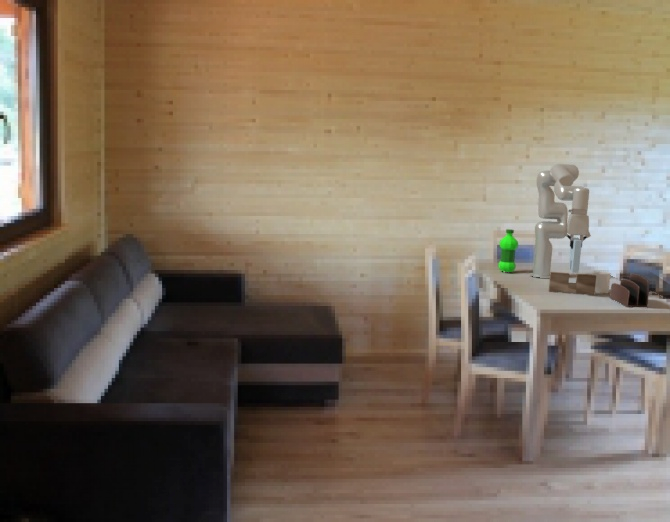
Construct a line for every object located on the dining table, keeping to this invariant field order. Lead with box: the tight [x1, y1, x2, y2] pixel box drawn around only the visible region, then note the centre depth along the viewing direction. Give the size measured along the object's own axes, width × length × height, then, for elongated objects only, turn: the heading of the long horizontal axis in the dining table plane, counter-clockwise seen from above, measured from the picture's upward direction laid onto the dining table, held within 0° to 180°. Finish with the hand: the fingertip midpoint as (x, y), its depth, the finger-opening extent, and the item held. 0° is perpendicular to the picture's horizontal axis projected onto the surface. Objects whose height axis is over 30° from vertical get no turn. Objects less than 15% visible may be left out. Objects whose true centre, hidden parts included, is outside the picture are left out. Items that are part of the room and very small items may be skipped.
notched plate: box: [568, 236, 583, 274], centre depth 355 cm, size 14×3×16 cm, turn 169°
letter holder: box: [609, 272, 650, 308], centre depth 339 cm, size 10×20×14 cm, turn 2°
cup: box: [592, 270, 611, 294], centre depth 365 cm, size 8×12×10 cm
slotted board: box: [548, 271, 596, 296], centre depth 357 cm, size 3×22×10 cm, turn 79°
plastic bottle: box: [498, 228, 519, 273], centre depth 408 cm, size 10×10×25 cm
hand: (575, 248), depth 354 cm, fingers closed on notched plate, 3 cm apart
